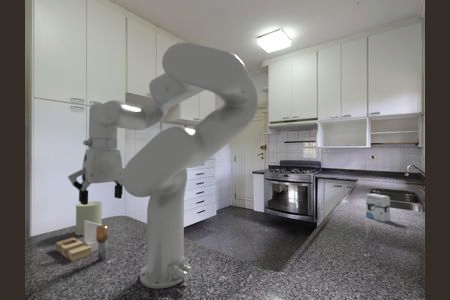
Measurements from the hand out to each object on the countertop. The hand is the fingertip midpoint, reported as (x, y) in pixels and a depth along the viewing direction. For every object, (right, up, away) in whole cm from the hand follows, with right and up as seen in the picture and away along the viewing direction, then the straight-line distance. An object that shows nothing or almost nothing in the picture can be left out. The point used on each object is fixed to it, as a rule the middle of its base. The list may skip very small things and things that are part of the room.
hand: (102, 200), depth 61 cm
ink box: (+114, -19, +38) cm, 121 cm away
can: (-19, -19, +22) cm, 35 cm away
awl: (0, -18, -1) cm, 18 cm away
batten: (-12, -18, +4) cm, 22 cm away
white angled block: (-6, -18, +7) cm, 21 cm away
